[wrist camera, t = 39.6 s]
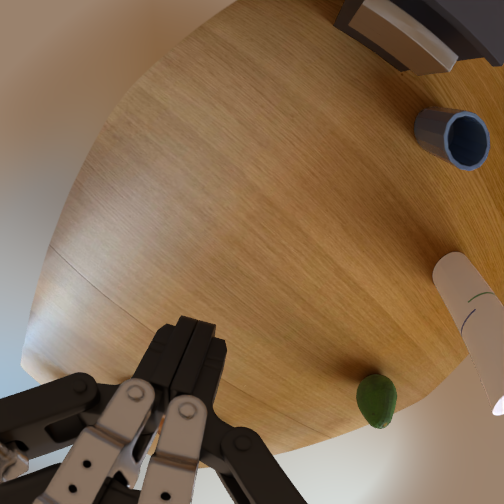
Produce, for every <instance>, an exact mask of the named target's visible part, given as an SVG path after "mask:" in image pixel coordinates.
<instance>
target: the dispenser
mask: <svg viewBox="0 0 504 504" xmlns="http://www.w3.org/2000/svg"><path fill="white" fill-rule="evenodd" d="M390 1H391V2H393V3H394V4H396V5H397V6H399V7H400V8H401V9H403V10H404V11H406V12H407V13H408V14H410V15H411V16H412V17H414V18H415V19H416V20H417V21H419V22H420V23H421V24H422V25H424V26H425V27H426V28H427V29H429V30H430V31H431V32H432V33H433V34H434V35H436V36H437V37H438V38H439V39H440V40H441V41H442V42H444V43H445V44H446V45H447V46H448V47H449V48H450V49H451V50H452V51H453V52H454V53H455V54H456V55H458V59H457V61H460V60H467V59H475V58H483V57H484V58H485V59H486V60H487V61H488V62H489V63H490V64H491V65H492V66H493V67H494V66H502V65H503V63H504V0H390ZM363 2H364V0H345V2H344V4H343V6H342V8H341V10H340V13H339V15H338V17H337V19H336V21H335V23H334V25H333V26H335V27H336V28H338V29H340V30H341V31H343V32H345V33H346V34H348V35H349V36H351V37H353V38H354V39H356V40H357V41H359V42H360V43H362V44H363V45H365V46H366V47H368V48H369V49H371V50H372V51H373V52H375V53H376V54H378V55H379V56H380V57H382V58H383V59H385V60H386V61H387V62H389V63H390V64H391V65H393V66H394V67H395V68H396V69H398V70H399V71H400V72H403V71H407V70H410V69H409V68H408V67H406V66H405V65H404V64H403V63H401V62H400V61H399V60H398V59H396V58H395V57H394V56H392V55H391V54H390V53H388V52H387V51H386V50H384V49H383V48H381V47H380V46H379V45H377V44H376V43H374V42H373V41H372V40H370V39H369V38H367V37H366V36H364V35H363V34H361V33H360V32H358V31H356V30H355V29H353V28H352V27H350V26H349V25H348V24H349V23H350V21H351V20H352V18H353V17H354V15H355V14H356V12H357V11H358V9H359V8H360V6H361V5H362V3H363Z"/></svg>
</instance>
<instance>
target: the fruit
mask: <svg viewBox="0 0 504 504" xmlns="http://www.w3.org/2000/svg"><path fill="white" fill-rule="evenodd" d="M356 399H357V404H358V407H359V409H360V411H361V413H362V414H363V416H364V417H365V419H366V420H367V421H368V423H369V424H370V425H371V426H373V427H374V428H379V429H382V428H385V427H386V426H387V425H388V424H389V423H390V422H391V419H392V416H393V413H394V410H395V405H396V400H397V392H396V388H395V386H394V384H393V383H392V381H391V380H390V379H389V378H387V377H386V376H383V375H378V374H374V375H370V376H368V377H366V378H364V379H363V380H362V381H361V382H360V384H359V386H358V389H357V395H356Z"/></svg>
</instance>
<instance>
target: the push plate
mask: <svg viewBox="0 0 504 504" xmlns="http://www.w3.org/2000/svg"><path fill="white" fill-rule="evenodd" d="M348 25H349V26H350V27H352V28H353V29H355V30H356V31H358V32H360V33H361V34H363V35H364V36H366V37H367V38H369V39H370V40H372V41H373V42H374V43H376V44H377V45H379V46H380V47H381V48H383V49H384V50H386V51H387V52H388V53H390V54H391V55H392V56H394V57H395V58H396V59H398V60H399V61H400V62H401V63H403V64H404V65H405V66H406V67H408V68H409V69H410V70H411V71H413V72H414V73H415V74H416V75H417V76H420V75H427V74H434V73H443V72H450V70H451V69H452V67H453V66H454V64H455V62H456V61H457V59H458V55H456V54H455V53H454V52H453V51H452V50H451V49H450V48H449V47H448V46H447V45H446V44H445V43H444V42H442V41H441V40H440V39H439V38H438V37H437V36H436V35H434V34H433V33H432V32H431V31H430V30H429V29H427V28H426V27H425V26H424V25H422V24H421V23H420V22H419V21H417V20H416V19H415V18H414V17H412V16H411V15H410V14H408V13H407V12H406V11H404V10H403V9H401V8H400V7H399V6H397V5H396V4H394V3H393V2H391V1H390V0H364V2H363V3H362V5H361V6H360V8H359V9H358V11H357V12H356V14H355V15H354V17H353V18H352V20H351V21H350V23H349V24H348Z"/></svg>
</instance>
